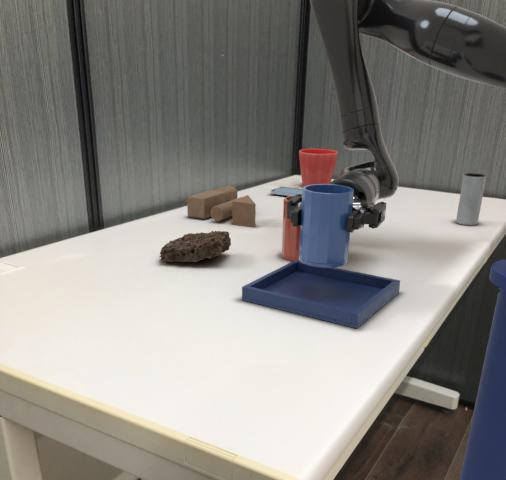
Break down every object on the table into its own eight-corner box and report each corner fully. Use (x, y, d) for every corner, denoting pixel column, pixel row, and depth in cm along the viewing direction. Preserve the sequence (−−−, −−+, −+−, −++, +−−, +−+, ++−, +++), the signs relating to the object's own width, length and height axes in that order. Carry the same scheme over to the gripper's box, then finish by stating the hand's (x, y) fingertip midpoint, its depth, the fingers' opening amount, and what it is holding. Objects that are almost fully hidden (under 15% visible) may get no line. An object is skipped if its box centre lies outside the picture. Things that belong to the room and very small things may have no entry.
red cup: (327, 254, 102) (331, 198, 98) (309, 264, 97) (312, 205, 92) (293, 248, 105) (296, 193, 101) (274, 257, 100) (276, 200, 96)
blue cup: (355, 258, 82) (362, 187, 77) (334, 271, 76) (340, 195, 72) (312, 250, 85) (317, 182, 81) (290, 262, 80) (293, 189, 75)
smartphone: (321, 198, 144) (269, 190, 150) (320, 202, 144) (269, 194, 151) (332, 193, 149) (282, 186, 156) (332, 197, 150) (282, 189, 156)
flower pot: (341, 189, 160) (344, 152, 156) (304, 190, 157) (306, 153, 153) (327, 182, 169) (329, 148, 165) (292, 183, 167) (293, 148, 162)
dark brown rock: (237, 254, 101) (237, 226, 99) (218, 271, 93) (217, 241, 91) (177, 248, 104) (176, 220, 102) (153, 264, 96) (151, 234, 93)
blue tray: (398, 293, 85) (400, 280, 84) (356, 328, 73) (358, 314, 72) (294, 271, 93) (295, 259, 92) (241, 300, 81) (241, 286, 80)
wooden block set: (183, 192, 123) (225, 180, 138) (184, 218, 126) (226, 204, 140) (253, 200, 116) (289, 187, 131) (252, 228, 118) (288, 211, 133)
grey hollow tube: (469, 220, 128) (477, 172, 123) (481, 224, 124) (490, 176, 119) (451, 221, 127) (459, 173, 122) (463, 226, 123) (471, 176, 118)
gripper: (306, 170, 91) (272, 188, 77) (397, 177, 86) (379, 198, 72) (304, 217, 94) (270, 243, 80) (391, 226, 90) (372, 255, 76)
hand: (322, 221), depth 76 cm, fingers closed on blue cup, 7 cm apart
